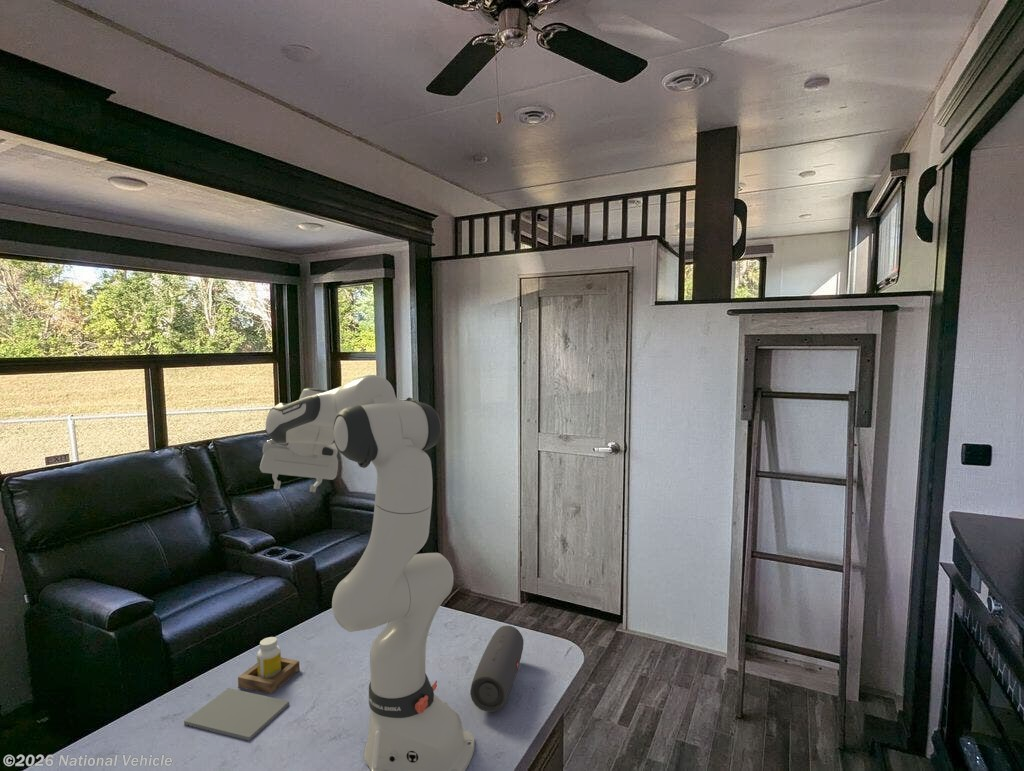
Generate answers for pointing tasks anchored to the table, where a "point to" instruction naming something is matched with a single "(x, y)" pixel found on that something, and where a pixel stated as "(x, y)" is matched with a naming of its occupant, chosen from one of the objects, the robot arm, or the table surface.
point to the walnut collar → (268, 685)
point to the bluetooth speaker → (497, 669)
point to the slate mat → (237, 713)
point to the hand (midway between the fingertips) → (294, 489)
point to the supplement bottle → (268, 658)
